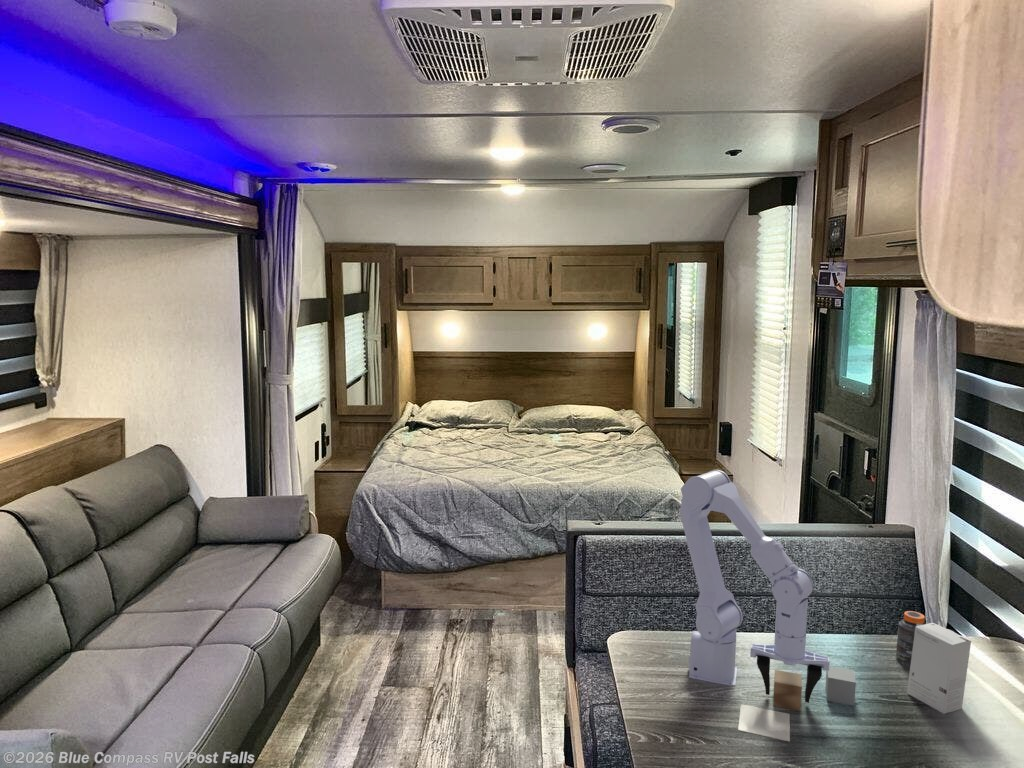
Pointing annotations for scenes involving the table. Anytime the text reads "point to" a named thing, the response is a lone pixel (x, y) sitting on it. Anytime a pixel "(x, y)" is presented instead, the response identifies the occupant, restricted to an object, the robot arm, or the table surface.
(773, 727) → the white square plate
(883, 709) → the table surface
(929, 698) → the skincare box
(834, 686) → the slate block
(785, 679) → the walnut block
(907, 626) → the pill bottle
